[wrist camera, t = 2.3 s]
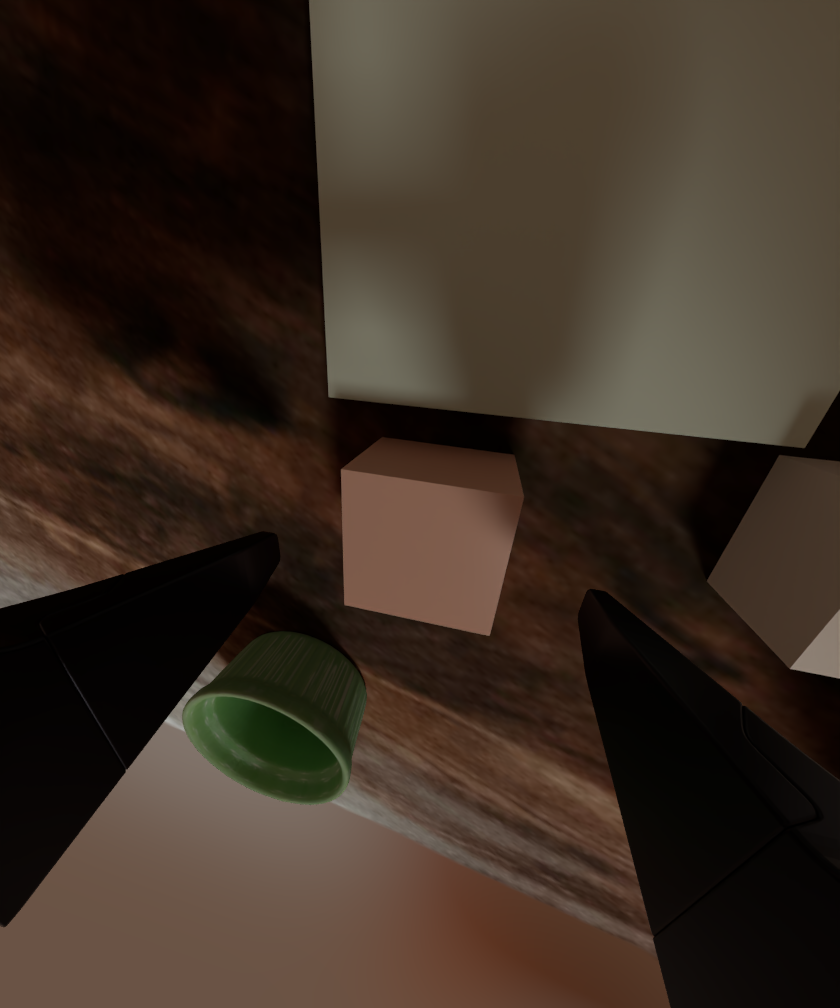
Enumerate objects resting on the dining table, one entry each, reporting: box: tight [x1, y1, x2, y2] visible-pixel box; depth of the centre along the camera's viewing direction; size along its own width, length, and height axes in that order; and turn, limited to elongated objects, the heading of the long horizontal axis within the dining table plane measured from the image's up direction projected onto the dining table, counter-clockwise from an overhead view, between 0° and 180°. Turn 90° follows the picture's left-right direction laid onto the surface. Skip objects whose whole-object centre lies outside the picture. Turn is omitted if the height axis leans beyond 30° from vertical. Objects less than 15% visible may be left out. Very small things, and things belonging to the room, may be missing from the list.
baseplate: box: [309, 0, 840, 448], centre depth 7 cm, size 14×14×1 cm
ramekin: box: [182, 631, 367, 805], centre depth 18 cm, size 9×9×4 cm
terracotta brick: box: [341, 437, 524, 636], centre depth 12 cm, size 5×5×4 cm
